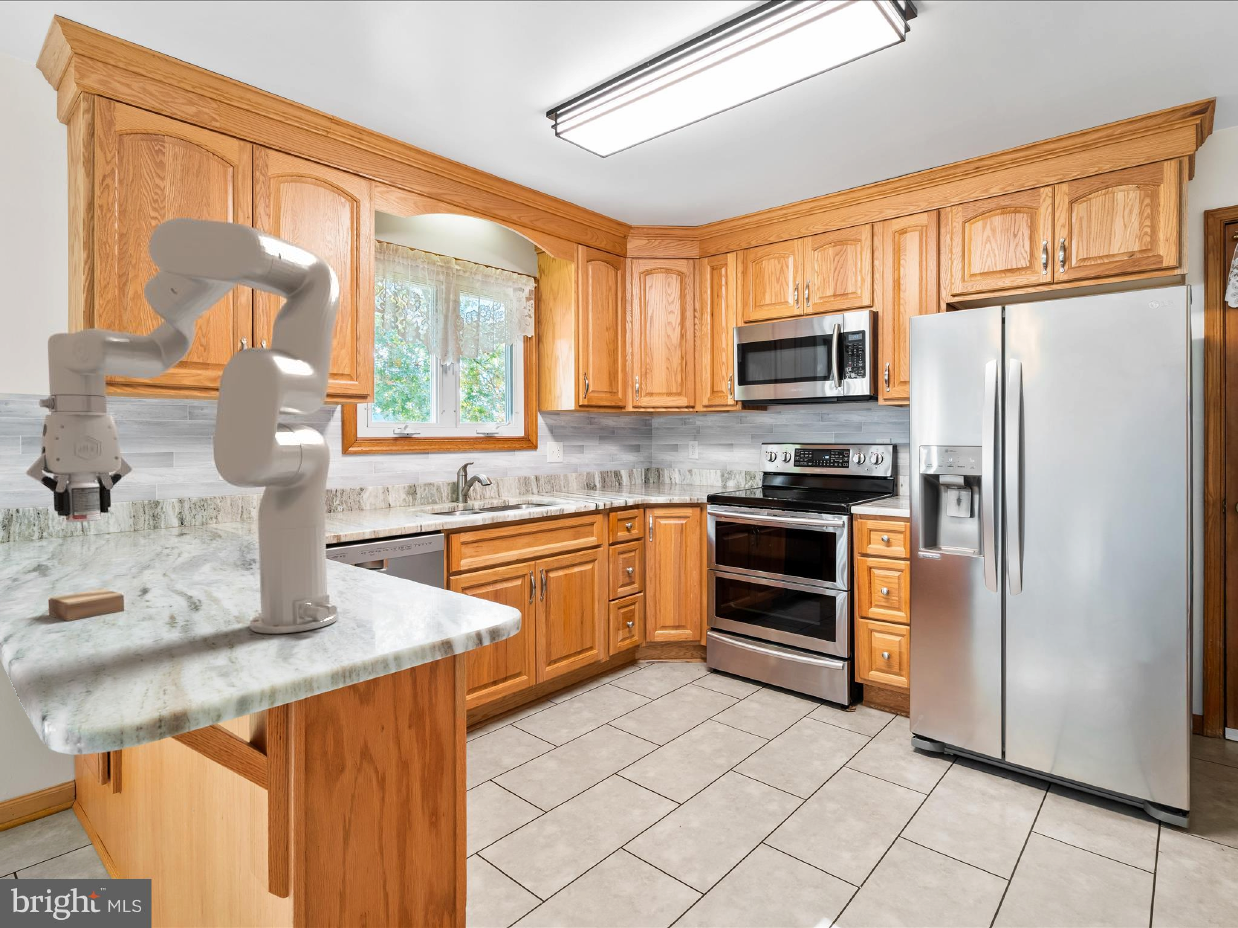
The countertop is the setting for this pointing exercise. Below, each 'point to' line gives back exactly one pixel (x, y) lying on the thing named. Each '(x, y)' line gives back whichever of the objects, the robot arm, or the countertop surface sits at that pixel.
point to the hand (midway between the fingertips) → (83, 512)
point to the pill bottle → (83, 498)
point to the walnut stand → (85, 604)
